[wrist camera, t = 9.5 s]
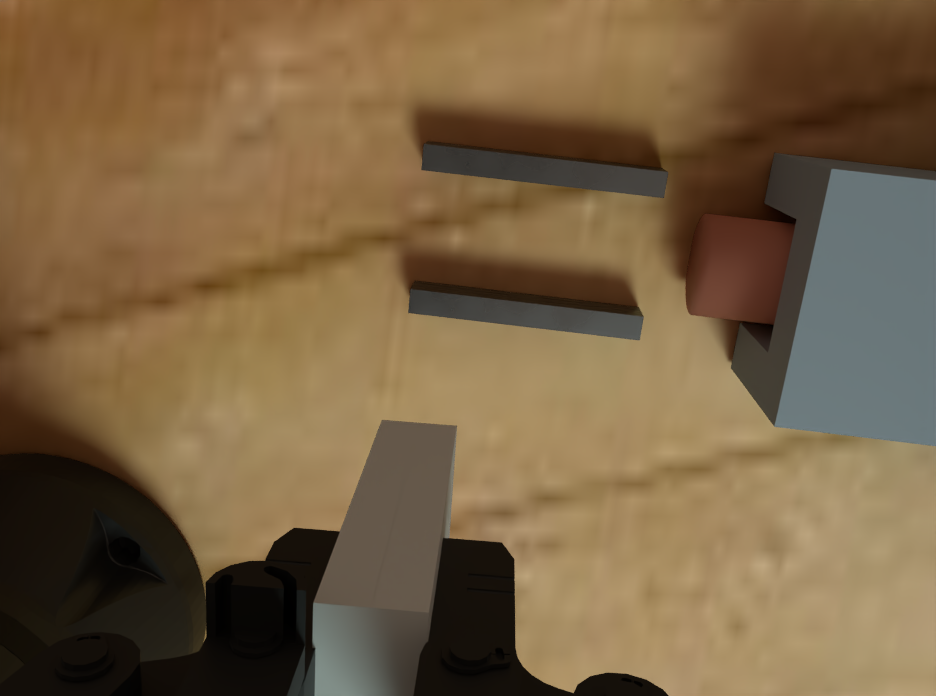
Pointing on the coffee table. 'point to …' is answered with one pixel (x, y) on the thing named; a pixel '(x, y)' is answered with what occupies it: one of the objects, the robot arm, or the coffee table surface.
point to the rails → (527, 306)
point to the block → (850, 304)
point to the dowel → (737, 268)
